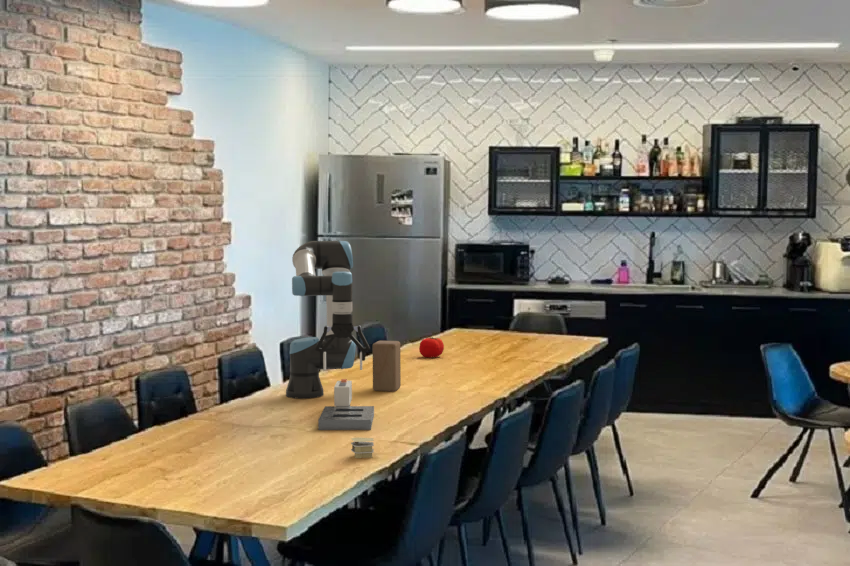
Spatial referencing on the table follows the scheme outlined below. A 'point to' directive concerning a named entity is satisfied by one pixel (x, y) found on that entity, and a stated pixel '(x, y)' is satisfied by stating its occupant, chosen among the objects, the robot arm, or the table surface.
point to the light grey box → (343, 393)
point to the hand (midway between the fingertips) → (343, 369)
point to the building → (362, 447)
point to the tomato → (431, 347)
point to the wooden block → (386, 366)
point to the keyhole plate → (346, 418)
